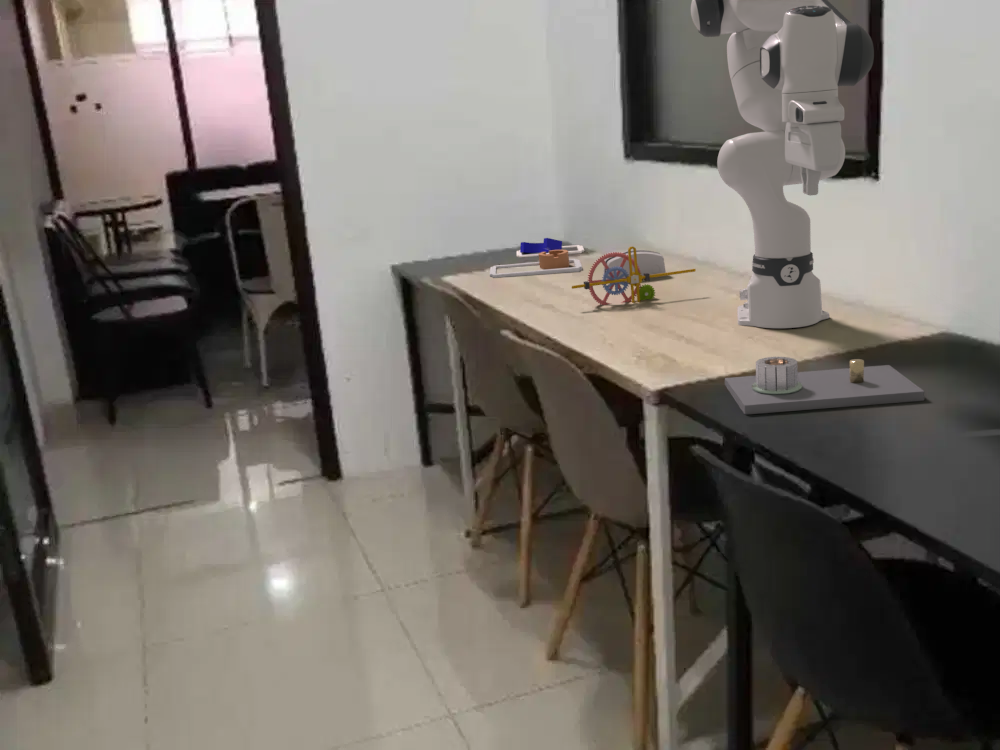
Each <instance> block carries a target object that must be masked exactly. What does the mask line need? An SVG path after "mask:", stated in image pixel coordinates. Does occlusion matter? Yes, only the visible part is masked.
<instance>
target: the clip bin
mask: <svg viewBox="0 0 1000 750" xmlns="http://www.w3.org/2000/svg"><path fill="white" fill-rule="evenodd" d="M571 248H573V249H574V248H576V249H577V250H568V255H574V254H577V255H578V254H583V253H585V249H584V246H583V245H580V244H575V245H564V246H563V245H562V249H571ZM546 254H549V253H546ZM516 257H517V258H519V259H520V258H534V257H535V258H537V257H539V253H529V254H523V253H521V252H520V249H519V250H516Z"/></svg>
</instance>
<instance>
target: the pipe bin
mask: <svg viewBox="0 0 1000 750" xmlns="http://www.w3.org/2000/svg"><path fill="white" fill-rule="evenodd" d="M572 263H573V265H574V266H572V267H570V266H569V267H566V268H558V269H537V270H534V269H533V270H526V271H524V270H523V271H513V272H500V273H497V269H505V268H517V267H531V266H540V264H539V261H537V262H536V261H535V262H521V263H512V264H511V263H510V264H500V265H499V264H498V265H493V266H490V269H489V277H490V278H493V279H496V278H509V277H524V276H537V275H538V276H539V275H550V274H551V275H552V274H565V273H566V274H567V273H580V271H583V266H582V263H581V260H580V259H577V258H569V264H572Z"/></svg>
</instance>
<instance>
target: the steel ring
mask: <svg viewBox="0 0 1000 750" xmlns="http://www.w3.org/2000/svg"><path fill="white" fill-rule="evenodd" d="M772 363H782V364H783V365H769V364H772ZM798 372H799V371H798V360H796V358H792V357H789V356H767V357H763V358H762V357H761V358H759V359H758V360H756V361H755V376H756V386H757V387H758V388H759V389H763V390H767V391H786V390H790V389H794V388H796V387H797V386H798Z"/></svg>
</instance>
